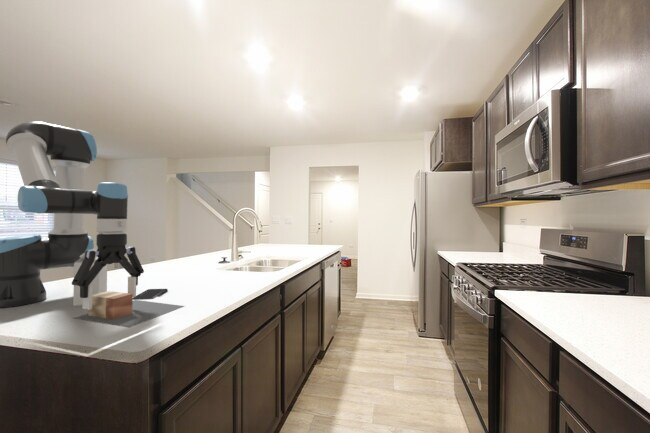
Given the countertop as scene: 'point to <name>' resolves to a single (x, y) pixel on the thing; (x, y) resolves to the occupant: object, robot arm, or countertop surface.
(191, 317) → the countertop surface
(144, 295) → the phone
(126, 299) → the terracotta wooden block
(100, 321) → the mat
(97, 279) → the milk carton
